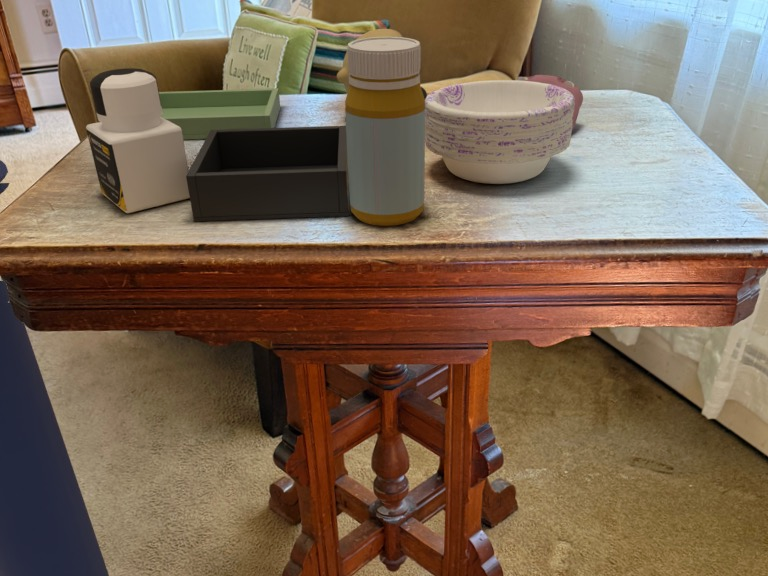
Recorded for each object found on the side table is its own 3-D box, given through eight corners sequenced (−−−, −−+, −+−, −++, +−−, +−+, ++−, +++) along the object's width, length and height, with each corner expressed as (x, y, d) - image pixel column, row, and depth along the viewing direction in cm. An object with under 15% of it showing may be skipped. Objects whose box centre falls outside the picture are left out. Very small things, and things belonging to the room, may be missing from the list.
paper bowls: (424, 149, 88) (425, 77, 83) (556, 148, 87) (564, 75, 82) (422, 196, 75) (423, 115, 71) (576, 196, 74) (587, 113, 70)
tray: (128, 141, 93) (124, 119, 91) (152, 111, 104) (148, 92, 103) (272, 136, 93) (269, 115, 92) (280, 107, 104) (278, 88, 103)
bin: (193, 221, 71) (185, 175, 69) (216, 170, 83) (210, 129, 81) (348, 216, 71) (346, 170, 69) (348, 165, 84) (346, 125, 81)
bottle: (418, 230, 68) (418, 52, 60) (343, 225, 70) (333, 51, 61) (428, 201, 74) (430, 36, 66) (359, 198, 75) (352, 35, 67)
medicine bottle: (101, 194, 78) (71, 71, 71) (166, 179, 81) (143, 60, 74) (126, 215, 73) (96, 85, 66) (194, 198, 76) (173, 72, 69)
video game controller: (577, 141, 94) (590, 83, 93) (569, 133, 90) (583, 72, 89) (502, 132, 98) (513, 76, 97) (491, 124, 94) (503, 65, 92)
